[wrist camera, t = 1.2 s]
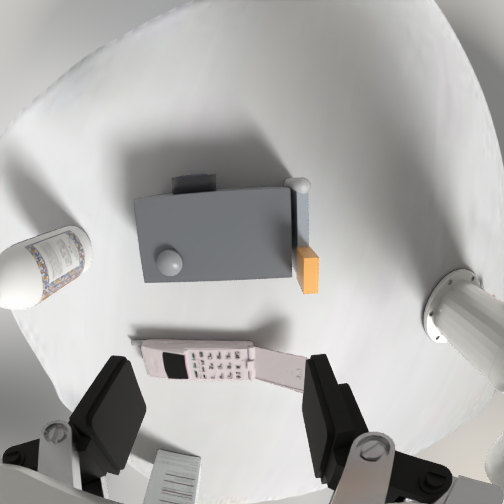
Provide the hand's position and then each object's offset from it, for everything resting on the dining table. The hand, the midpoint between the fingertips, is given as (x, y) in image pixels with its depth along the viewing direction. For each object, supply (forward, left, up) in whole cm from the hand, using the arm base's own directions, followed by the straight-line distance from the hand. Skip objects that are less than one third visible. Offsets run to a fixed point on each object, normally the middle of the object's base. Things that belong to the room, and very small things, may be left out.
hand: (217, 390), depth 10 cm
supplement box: (+16, +46, -24) cm, 54 cm away
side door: (-6, -3, -24) cm, 25 cm away
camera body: (+2, -3, -24) cm, 24 cm away
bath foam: (+23, -1, -24) cm, 33 cm away
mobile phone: (+4, +15, -24) cm, 29 cm away
